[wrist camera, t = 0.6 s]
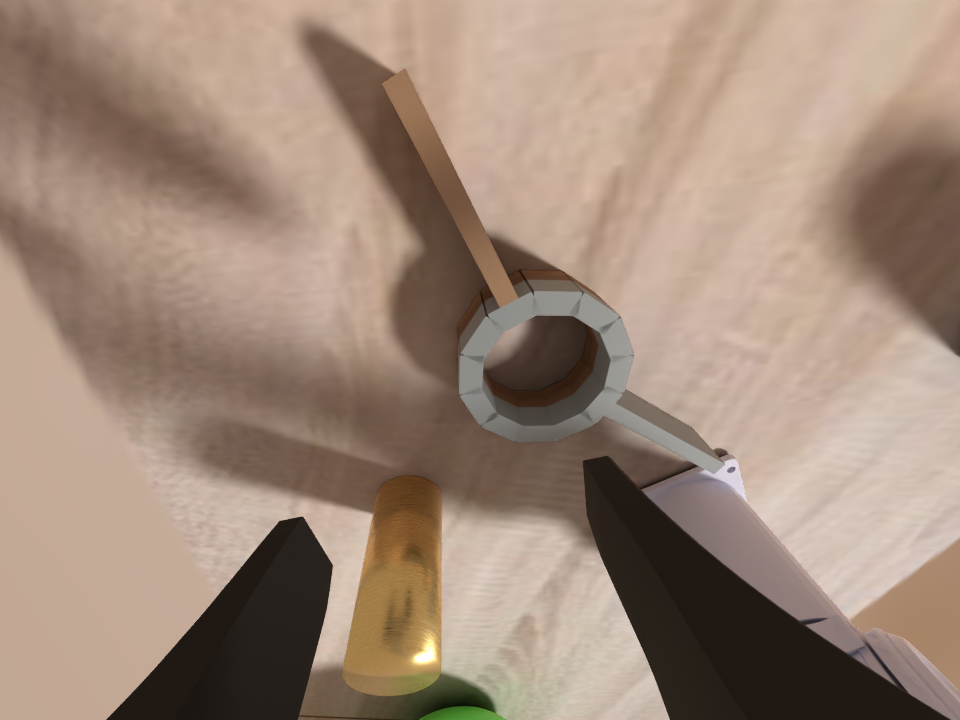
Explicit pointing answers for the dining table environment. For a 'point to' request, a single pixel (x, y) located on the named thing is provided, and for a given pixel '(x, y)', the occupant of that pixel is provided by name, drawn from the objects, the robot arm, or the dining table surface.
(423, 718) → the green rounded blob
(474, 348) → the slate hinge leaf
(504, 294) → the walnut hinge leaf
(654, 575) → the robot arm
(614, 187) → the dining table surface
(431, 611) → the brass hinge pin
